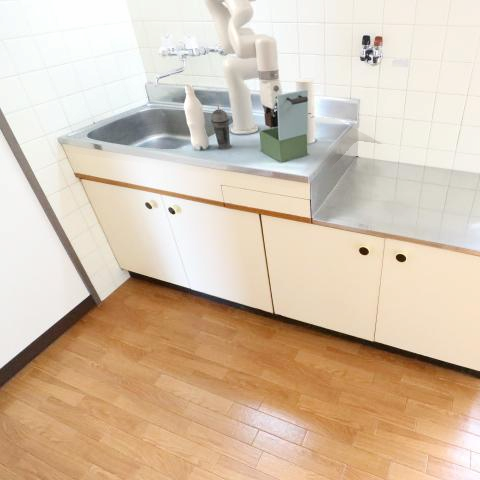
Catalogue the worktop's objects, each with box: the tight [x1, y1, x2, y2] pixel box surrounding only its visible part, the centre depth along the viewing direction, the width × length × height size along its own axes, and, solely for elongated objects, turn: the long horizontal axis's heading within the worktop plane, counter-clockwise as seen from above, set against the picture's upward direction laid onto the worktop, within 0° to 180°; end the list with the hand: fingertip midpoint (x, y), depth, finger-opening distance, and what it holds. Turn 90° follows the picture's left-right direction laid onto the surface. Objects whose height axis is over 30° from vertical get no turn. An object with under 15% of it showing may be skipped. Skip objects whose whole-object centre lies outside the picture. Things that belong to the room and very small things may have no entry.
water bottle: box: [183, 84, 210, 151], centre depth 151 cm, size 7×7×25 cm
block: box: [263, 112, 274, 129], centre depth 146 cm, size 4×4×4 cm
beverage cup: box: [210, 98, 231, 150], centre depth 153 cm, size 7×7×20 cm
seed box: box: [258, 127, 309, 163], centre depth 150 cm, size 16×13×8 cm
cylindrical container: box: [295, 77, 316, 145], centre depth 156 cm, size 7×7×25 cm
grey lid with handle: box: [276, 90, 308, 141], centre depth 136 cm, size 16×13×6 cm
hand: (273, 124), depth 147 cm, fingers closed on block, 4 cm apart
